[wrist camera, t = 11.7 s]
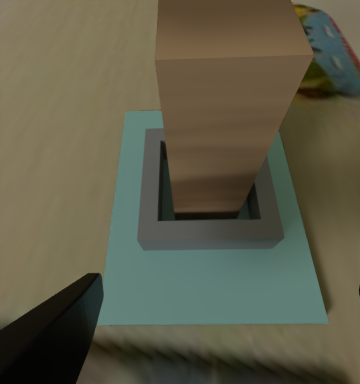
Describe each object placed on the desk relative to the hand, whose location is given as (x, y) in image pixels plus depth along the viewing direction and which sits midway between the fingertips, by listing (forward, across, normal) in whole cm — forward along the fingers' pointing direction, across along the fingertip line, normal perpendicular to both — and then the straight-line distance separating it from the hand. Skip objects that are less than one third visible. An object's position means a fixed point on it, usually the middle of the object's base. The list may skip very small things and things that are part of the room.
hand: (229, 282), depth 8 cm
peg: (+11, 0, 0) cm, 11 cm away
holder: (+12, 0, +1) cm, 12 cm away
